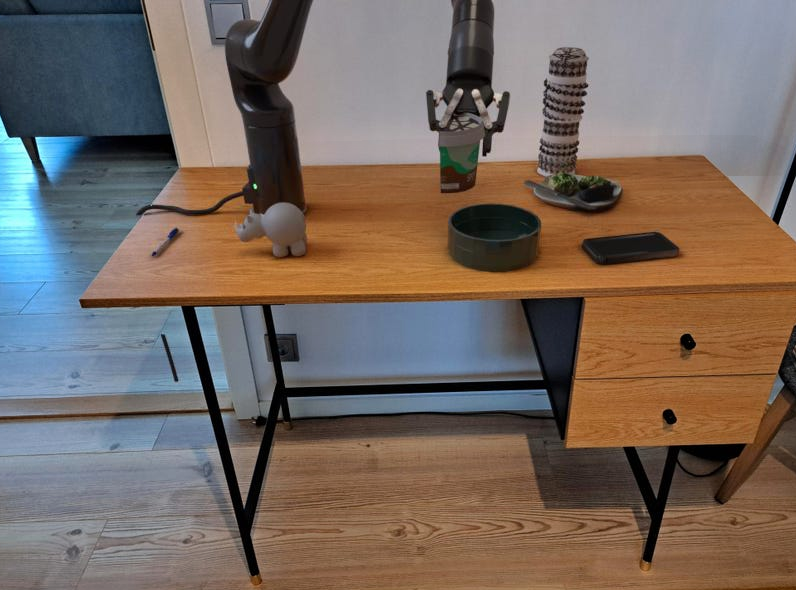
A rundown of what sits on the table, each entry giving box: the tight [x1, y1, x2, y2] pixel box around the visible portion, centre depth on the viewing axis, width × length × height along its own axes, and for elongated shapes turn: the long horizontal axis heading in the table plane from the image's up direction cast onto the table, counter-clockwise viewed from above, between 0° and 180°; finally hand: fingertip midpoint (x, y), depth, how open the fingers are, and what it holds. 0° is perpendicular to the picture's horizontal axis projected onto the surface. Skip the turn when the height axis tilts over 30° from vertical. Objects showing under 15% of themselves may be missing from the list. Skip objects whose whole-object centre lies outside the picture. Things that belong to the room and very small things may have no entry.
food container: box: [438, 112, 485, 195], centre depth 103 cm, size 12×6×10 cm, turn 169°
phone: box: [581, 231, 680, 265], centre depth 110 cm, size 8×1×15 cm
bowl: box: [447, 202, 542, 273], centre depth 109 cm, size 16×16×6 cm
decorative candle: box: [536, 46, 590, 178], centre depth 136 cm, size 9×9×25 cm
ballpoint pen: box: [151, 227, 180, 257], centre depth 113 cm, size 10×1×1 cm, turn 177°
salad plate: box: [523, 172, 624, 213], centre depth 130 cm, size 19×18×5 cm
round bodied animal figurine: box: [233, 203, 308, 258], centre depth 109 cm, size 7×12×8 cm, turn 93°
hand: (464, 153), depth 103 cm, fingers closed on food container, 6 cm apart
